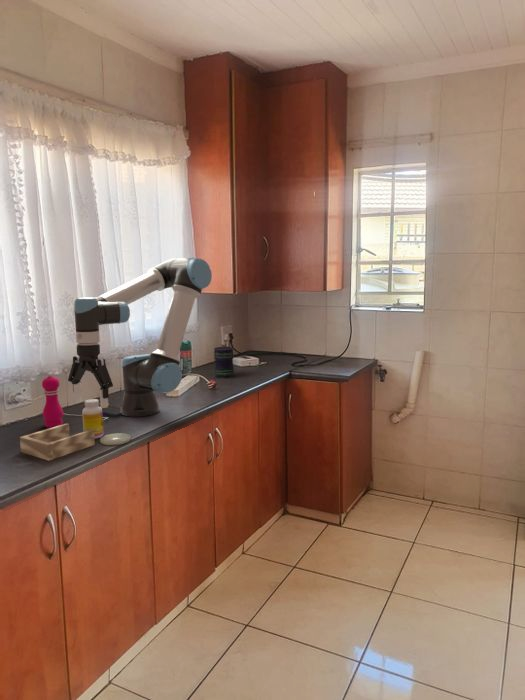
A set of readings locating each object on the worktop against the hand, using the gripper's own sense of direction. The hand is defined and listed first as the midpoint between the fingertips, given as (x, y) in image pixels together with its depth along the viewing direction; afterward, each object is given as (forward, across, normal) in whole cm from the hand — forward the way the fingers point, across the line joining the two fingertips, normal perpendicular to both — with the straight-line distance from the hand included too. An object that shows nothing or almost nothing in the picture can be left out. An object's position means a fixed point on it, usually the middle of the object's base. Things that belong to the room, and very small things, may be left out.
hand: (91, 404), depth 191 cm
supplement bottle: (+12, 0, 0) cm, 12 cm away
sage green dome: (+11, +10, +1) cm, 15 cm away
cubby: (+12, 0, -14) cm, 18 cm away
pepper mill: (+12, -23, +1) cm, 26 cm away
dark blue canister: (+10, -21, +102) cm, 105 cm away
